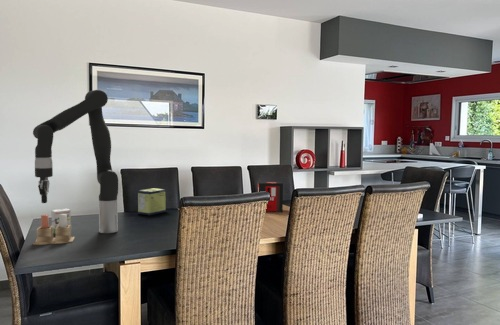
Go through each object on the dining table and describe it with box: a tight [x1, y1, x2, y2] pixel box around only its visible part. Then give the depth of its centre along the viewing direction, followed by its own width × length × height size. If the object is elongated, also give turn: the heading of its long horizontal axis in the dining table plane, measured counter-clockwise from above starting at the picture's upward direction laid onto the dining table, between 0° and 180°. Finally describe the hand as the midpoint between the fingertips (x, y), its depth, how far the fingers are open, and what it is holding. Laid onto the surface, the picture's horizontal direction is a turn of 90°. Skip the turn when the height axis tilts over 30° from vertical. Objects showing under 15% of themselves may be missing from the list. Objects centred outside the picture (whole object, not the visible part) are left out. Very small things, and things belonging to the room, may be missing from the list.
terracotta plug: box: [40, 214, 50, 229], centre depth 189 cm, size 3×3×8 cm
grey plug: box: [59, 214, 67, 228], centre depth 191 cm, size 3×3×8 cm
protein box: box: [137, 187, 167, 216], centre depth 262 cm, size 10×16×16 cm
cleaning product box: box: [257, 181, 284, 213], centre depth 272 cm, size 16×9×20 cm, turn 94°
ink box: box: [51, 208, 72, 234], centre depth 209 cm, size 8×5×12 cm, turn 131°
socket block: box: [32, 224, 76, 246], centre depth 190 cm, size 17×9×7 cm, turn 107°
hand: (44, 202), depth 188 cm, fingers closed
